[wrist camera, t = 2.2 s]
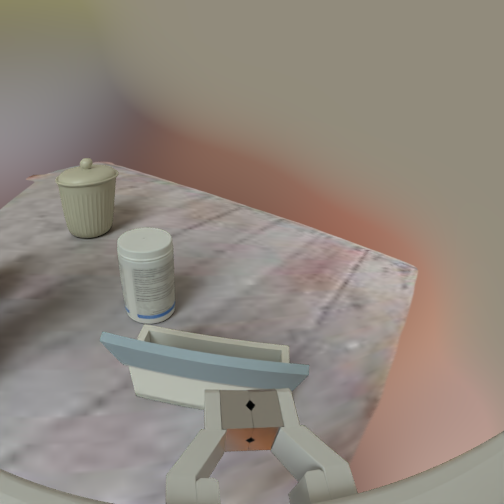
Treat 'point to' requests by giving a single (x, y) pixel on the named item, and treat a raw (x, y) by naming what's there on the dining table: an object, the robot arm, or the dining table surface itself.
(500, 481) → the robot arm
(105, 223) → the canister
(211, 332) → the dining table surface
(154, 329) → the beige open box
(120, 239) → the supplement tub
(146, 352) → the cover
